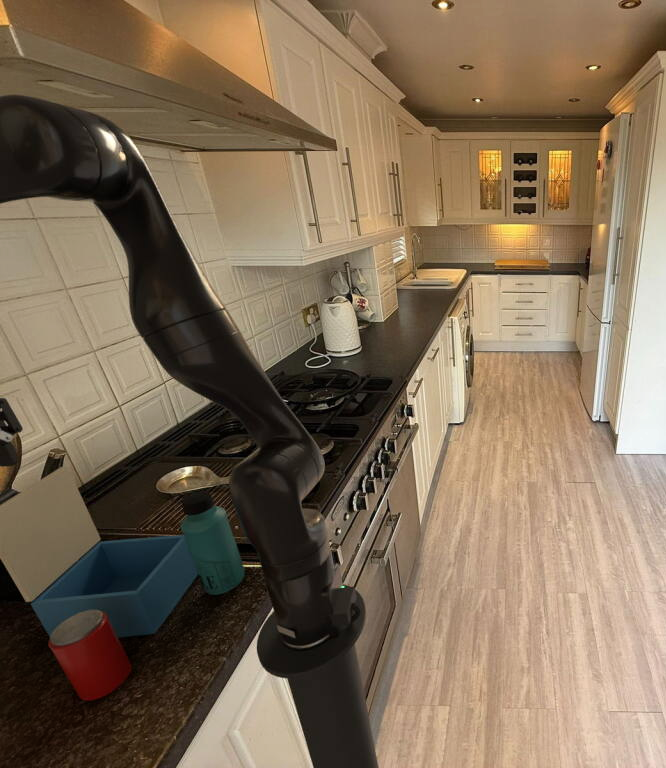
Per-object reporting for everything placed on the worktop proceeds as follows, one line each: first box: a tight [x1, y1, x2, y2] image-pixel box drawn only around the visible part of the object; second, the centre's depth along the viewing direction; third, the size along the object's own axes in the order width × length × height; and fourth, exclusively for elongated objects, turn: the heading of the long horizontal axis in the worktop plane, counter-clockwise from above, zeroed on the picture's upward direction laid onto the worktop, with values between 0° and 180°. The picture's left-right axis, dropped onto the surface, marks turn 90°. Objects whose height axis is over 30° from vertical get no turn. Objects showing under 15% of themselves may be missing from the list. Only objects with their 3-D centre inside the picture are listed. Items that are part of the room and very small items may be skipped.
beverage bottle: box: [180, 490, 246, 596], centre depth 70 cm, size 6×7×20 cm
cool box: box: [30, 534, 199, 639], centre depth 69 cm, size 14×13×9 cm
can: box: [48, 610, 132, 702], centre depth 57 cm, size 6×6×11 cm
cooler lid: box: [0, 465, 102, 603], centre depth 63 cm, size 15×13×6 cm
